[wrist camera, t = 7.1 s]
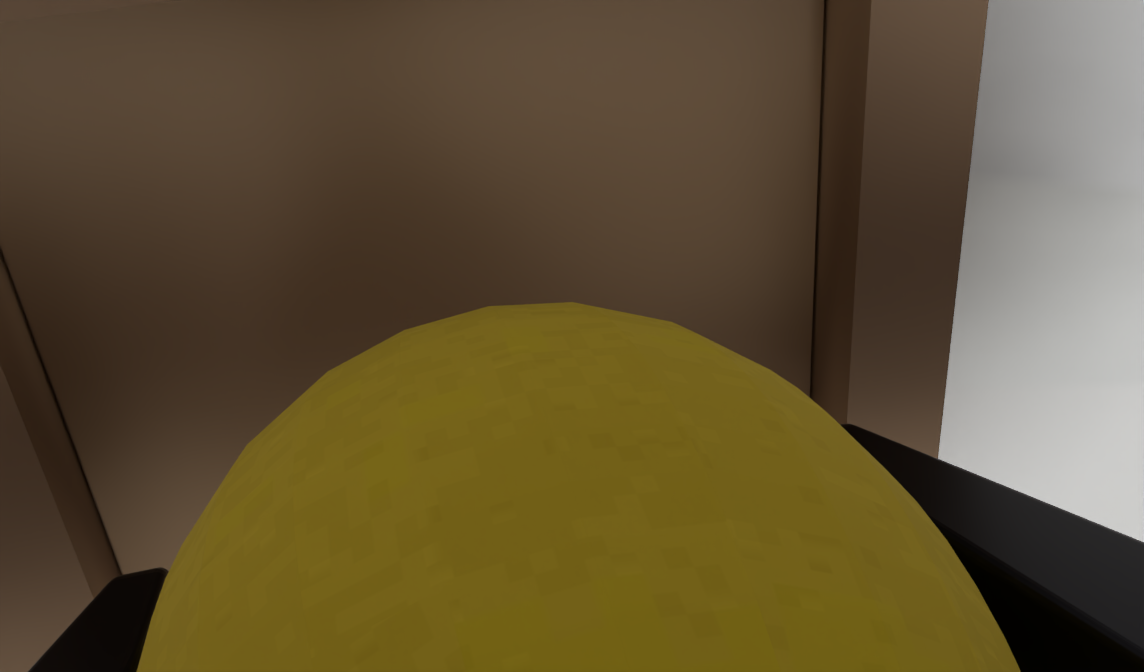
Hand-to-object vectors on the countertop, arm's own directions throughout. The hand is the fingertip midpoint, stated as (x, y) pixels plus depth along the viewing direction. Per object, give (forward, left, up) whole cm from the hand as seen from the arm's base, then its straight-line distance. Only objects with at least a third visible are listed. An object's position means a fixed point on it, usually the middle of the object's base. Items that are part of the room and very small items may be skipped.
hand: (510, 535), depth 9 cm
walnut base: (0, 0, -6) cm, 6 cm away
